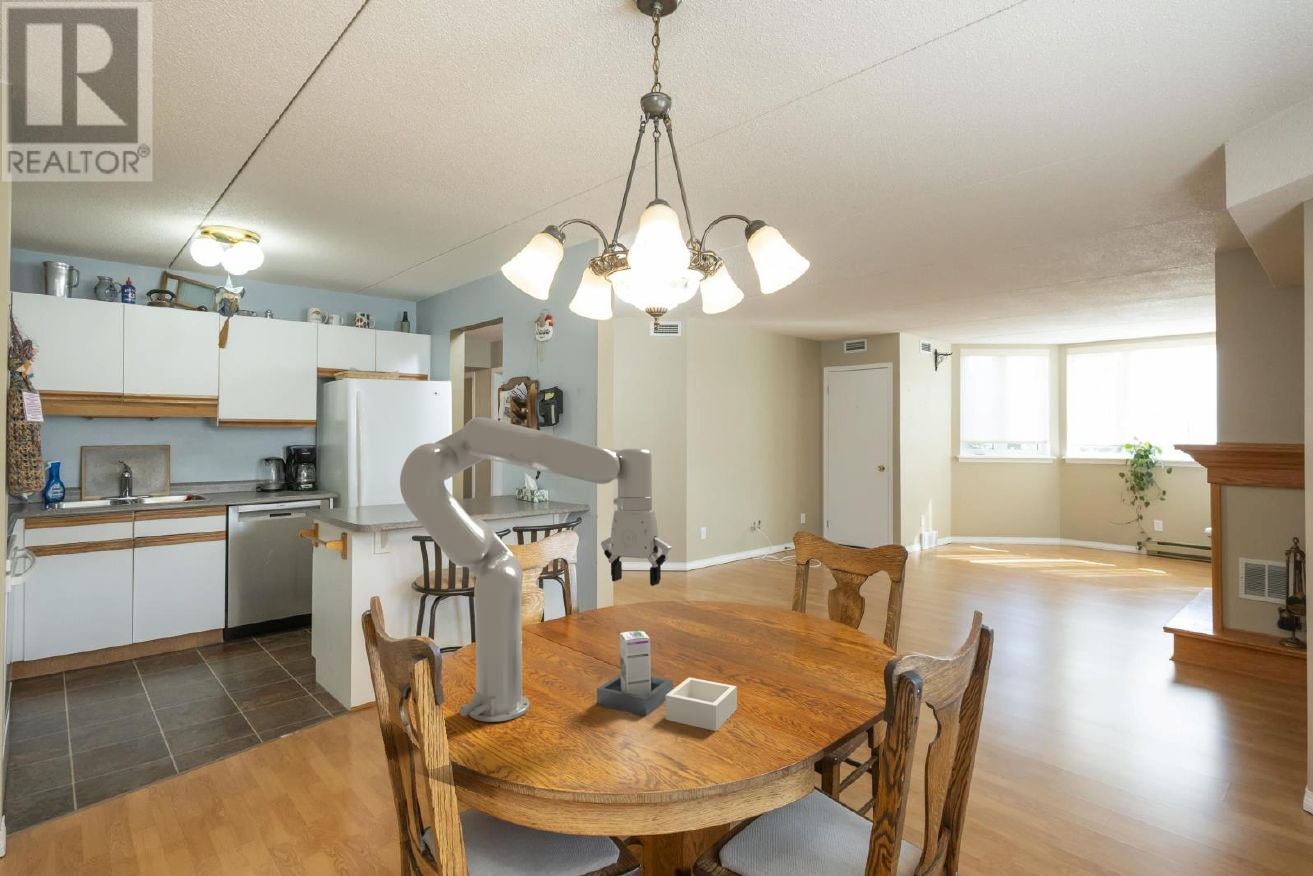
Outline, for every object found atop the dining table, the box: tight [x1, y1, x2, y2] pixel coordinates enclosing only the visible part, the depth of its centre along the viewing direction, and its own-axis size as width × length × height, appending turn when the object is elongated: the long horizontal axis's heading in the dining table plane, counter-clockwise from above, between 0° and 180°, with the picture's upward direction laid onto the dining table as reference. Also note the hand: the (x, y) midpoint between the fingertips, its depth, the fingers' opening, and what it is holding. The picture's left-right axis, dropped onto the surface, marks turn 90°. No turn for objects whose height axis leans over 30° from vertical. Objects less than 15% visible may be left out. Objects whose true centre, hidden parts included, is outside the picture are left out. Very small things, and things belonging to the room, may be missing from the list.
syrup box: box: [619, 630, 652, 696], centre depth 142 cm, size 6×6×14 cm
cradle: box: [665, 677, 738, 732], centre depth 134 cm, size 11×11×5 cm
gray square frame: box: [596, 673, 674, 717], centre depth 142 cm, size 12×12×4 cm
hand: (635, 582), depth 142 cm, fingers open, 9 cm apart
